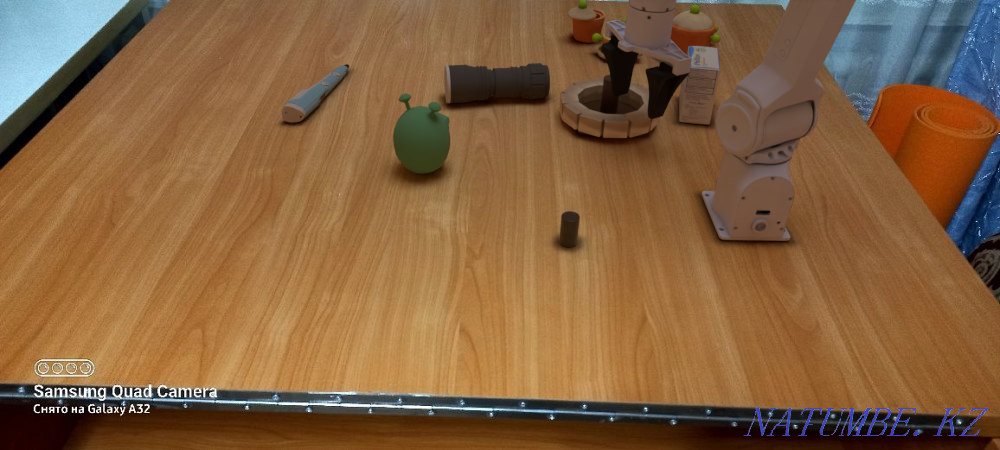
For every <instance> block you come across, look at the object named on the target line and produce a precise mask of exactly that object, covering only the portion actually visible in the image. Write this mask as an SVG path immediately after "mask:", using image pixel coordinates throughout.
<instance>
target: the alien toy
mask: <svg viewBox="0 0 1000 450" xmlns="http://www.w3.org/2000/svg"><path fill="white" fill-rule="evenodd" d="M411 98H412V95H411V94H410V93H401V94H400V96H399V97H398V102H401V103H404V105H405V108H406V110H405V111H404V112H403V113H402V114H401V115H400V116H399V117H398V119H397V121H396V123H395V125H394V130H393V134H392V141H393V142H392V143H393V149H394V152H395V155H396V157H397V159H398V161H399V162H400V163H401V165H402V166H403V167H404V168H406V170H408V171H410V172H412V173H415V174H419V175H420V174H421V175H423V174H424V175H425V174H430V173H432V172H435V171H437V170H438V169H439V168H440V167H442V165H443V164H444V163H445V162H446V160H447V158H448V156H449V152H450V149H451V133H450V117H449V116H447V115H445V114H442V113H441V112H440V111H441V110H442V105H441V104H439V103H438V102H437V101H432V102H429V103H428V106H425V105H424V106H423V105H418V106H413V107H411V105H410V103H409V102H410V100H411Z"/></svg>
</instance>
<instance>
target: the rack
mask: <svg viewBox="0 0 1000 450" xmlns="http://www.w3.org/2000/svg"><path fill="white" fill-rule="evenodd" d="M603 78H604V80H603V88H602V97H601V100H594V101H590V102H586V103H583V104H582V105H584V106H585V107H587V108H588V109H590V110H593V111H597V112H601V113H604V114H626V113H630V112H634V111H637V109H635V108H634V107H632V106H631V105H629V104H626V103H622V102H618V100H619V96H614V95H613V91H612V84H611V77H610V74H606V75H604V76H603ZM577 131H578V130H577ZM578 136H591V135H590V134H587V133H583V132H580V131H578ZM637 137H645V134H641V135H638V136H637Z"/></svg>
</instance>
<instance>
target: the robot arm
mask: <svg viewBox="0 0 1000 450" xmlns="http://www.w3.org/2000/svg"><path fill="white" fill-rule="evenodd" d="M856 2H857V0H789V1H788V3H787V6H786V8H785V10H784V12H783V13H782V17H781V18H780V21H779V23H778V25H777V27H776V30H775V32H774V35H773V36H772V39H771V40H770V43H769V45H768V47H767V49H766V52H765V54H764V56H763V58H762V60H761V63H760V64H758V65H757V67H755V68H754V69H753V70H752V71H751V72H749V73H748V74H747V75H746V76H744V77H743V78H742V79H741V80H740V81H739V82H738V83H737V84H736V85H735V87H734V90H733V92H732V93H731V95H730V97H728V98H727V99H726V100H725V101H723V102H722V103H721V104H720V105H719V107H718V108H717V111H716V114H715V120H714V122H715V123H714V124H715V132H716V135H717V139H718V141H719V142H720V147H721V148H722V149H723V153H722V156H721V160H720V165H719V170H718V174H717V178H716V181H715V187H714V190H703V191H701V198H702V200H703V202H704V205H705V208H706V210H707V212H708V214H709V217H710V219H711V222H712V224H713V226H714V229H715V231H716V234H717V237H718V238H719V239H720V240H723V241H774V242H775V241H776V242H781V241H783V242H788V241H790V239H791V234H790V232H789V230H788V229H787V227H786V226H787V223H788V221H789V217H790V213H791V210H792V207H793V204H794V201H795V197H796V190H795V187H794V184H793V181H792V178H791V174H790V172H791V171H790V167H791V162H792V159H793V156H794V152H795V150H797V149H798V147H799V144H800V141H801V139H803V138H805V137H808V136H809V135H810V134H811V133H813V131H814V130H815V128H816V126H817V124H818V121H819V111H820V110H819V109H820V103H821V100H822V98H823V96H824V94H825V92H826V89H825V87H824V86H823V84H822V82H821V81H820V79H818V77H817V76H818V75H819V72H820V71H821V70H822V67H823V65H824V63H825V61H826V59H827V57H828V55H829V54H830V51H831V50H832V48H833V46H834V44H835V42H836V40H837V38H838V36H839V34H840V32H841V31H842V28H843V27H844V25H845V23H846V21H847V19H848V17H849V15H850V13H851V11H852V9H853V8H854V6H855V4H856ZM676 6H677V0H628V4H627V12H626V18H627V19H626V23H624V22H622V20H619V19H614V20H610V21H606V22H605V30H604V32H605V36H606V37H608V38H611V40H609V42H607V43H603V44H602V43H601V45H600V46H601V50H602V52H603V54H604V56H605V58H606V59H605V61H606V64H607V68H608V72H609V75H610V77H611V84H612V91H613V95H614V96H620V95H624V94H628V91H629V88H630V84H631V82H632V79H633V73H634V68H635V66H636V62H637V59H638V58H639V57H638V54H639V53H640V54H642V56H646V57H648V58H650V59H652V60H654V61H655V62H656V63H659V64H658V65H657V66H653V67H648V68H645V71H644V72H645V75H646V79H647V84H648V85H647V87H648V89H649V100H648V117H649V118H650V119H655V118H658V117H660V118H661V117H664V115H665V112H666V110H667V108H668V105H669V103H670V102H671V99H673V96H674V94H675V93H676V91H677V89H678V88H679V87H680V86H681V83H682V81H683V80H684V79H685V78H686V77H687V76H688V75H689V72H690V66H691V61H692V58H691V57H689V56H688V55H686V54H685V53H684V52H683V51H682V50H681V49H680V48H679V47H678V46H677V45H676V44H675V43H674V42H673V41H672V40H671V39H670V38H671V31H672V25H673V19H674V17H675V12H676Z"/></svg>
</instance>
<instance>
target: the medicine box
mask: <svg viewBox="0 0 1000 450" xmlns="http://www.w3.org/2000/svg"><path fill="white" fill-rule="evenodd" d="M719 52H720V51H719V48H717V47H711V46H709V47H704V46H689V47H688V49H687V54H686V55H688V56H689V57H691V58H692V61H691V66H690V72H689V75H688V76H687V77H686V78H685V79H684V80H683V81H682V83H681V84H680V89H679V96H678V100H679V101H678V113H679V114H678V115H679V116H678V122H679V123H685V124H696V125H703V126H704V125H706V126H709V125H710V124H711V122H712V121H711V120H712V114H713V110H714V103H715V99H716V98H715V97H716V93H717V89H718V83H719V79H720V74H721V73H720V72H721V65H720V64H721V63H720V53H719Z"/></svg>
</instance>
